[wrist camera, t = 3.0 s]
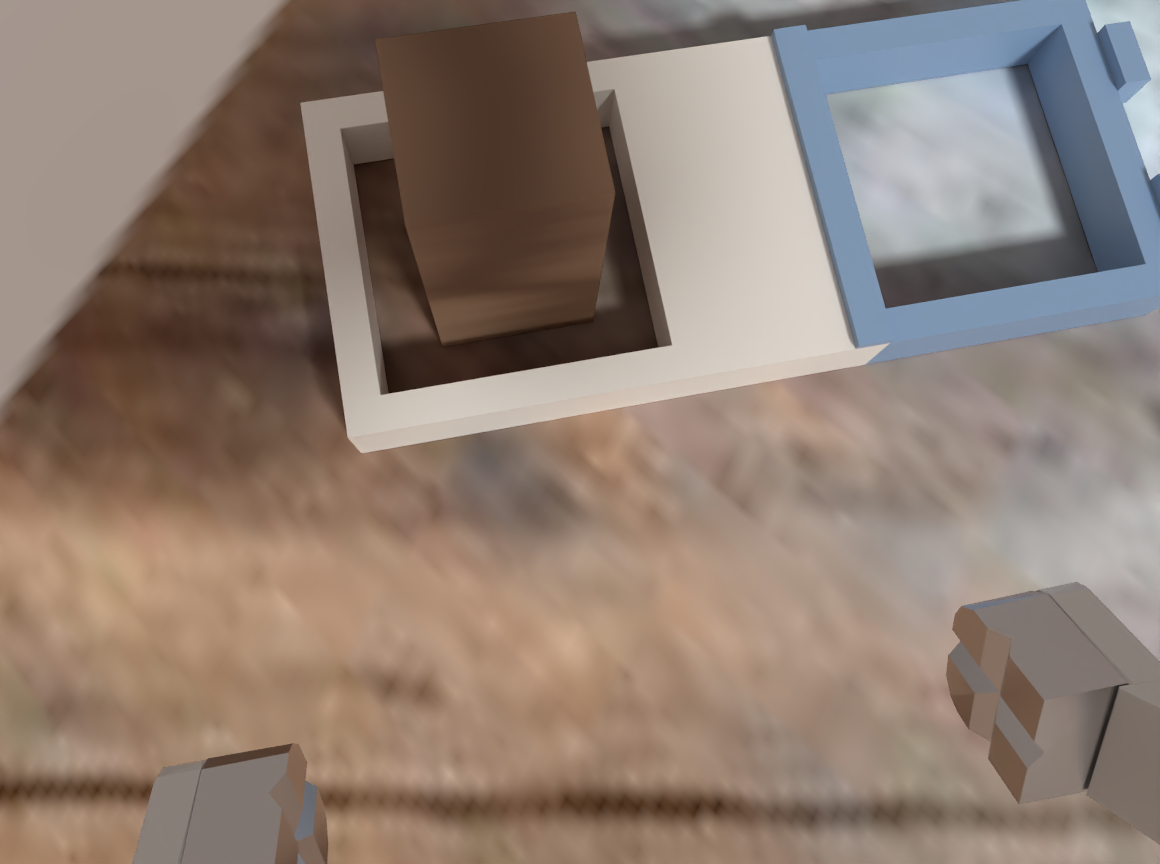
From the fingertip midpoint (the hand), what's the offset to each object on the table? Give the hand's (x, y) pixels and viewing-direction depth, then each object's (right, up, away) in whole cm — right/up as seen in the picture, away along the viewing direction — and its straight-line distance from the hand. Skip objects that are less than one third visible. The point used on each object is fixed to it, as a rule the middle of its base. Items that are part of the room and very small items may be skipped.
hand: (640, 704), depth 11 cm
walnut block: (-3, +8, +16) cm, 19 cm away
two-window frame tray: (+4, +10, +17) cm, 20 cm away
